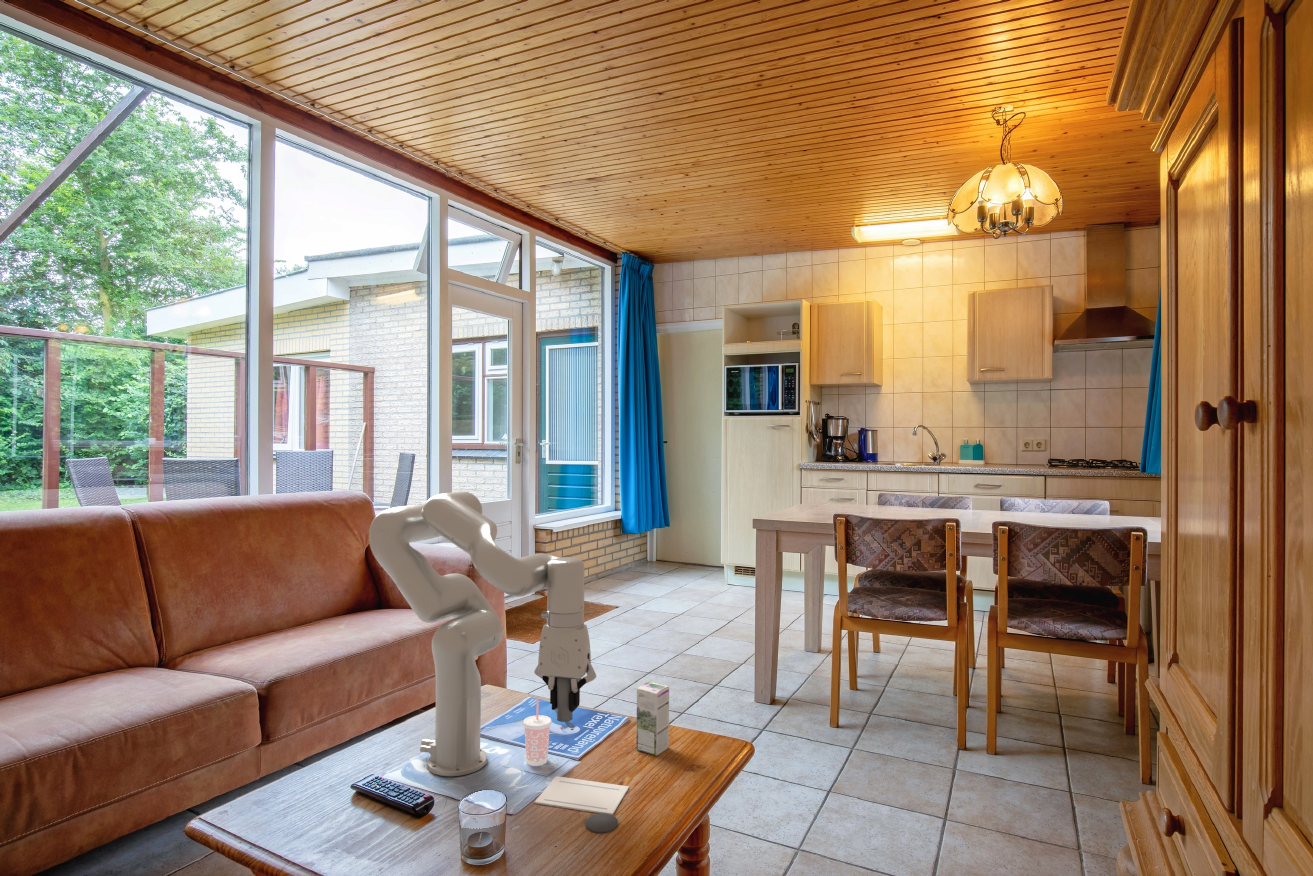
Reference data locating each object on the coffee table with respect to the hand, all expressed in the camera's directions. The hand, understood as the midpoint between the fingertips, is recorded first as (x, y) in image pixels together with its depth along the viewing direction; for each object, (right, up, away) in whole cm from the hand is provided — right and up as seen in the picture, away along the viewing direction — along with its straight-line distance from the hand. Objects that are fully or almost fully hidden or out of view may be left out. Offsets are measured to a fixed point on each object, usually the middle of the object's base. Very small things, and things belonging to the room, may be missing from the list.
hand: (564, 707), depth 146 cm
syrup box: (+18, -17, +18) cm, 31 cm away
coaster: (+9, -16, -14) cm, 23 cm away
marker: (0, -2, 0) cm, 2 cm away
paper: (+4, -16, -3) cm, 17 cm away
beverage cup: (-8, -16, +11) cm, 21 cm away
